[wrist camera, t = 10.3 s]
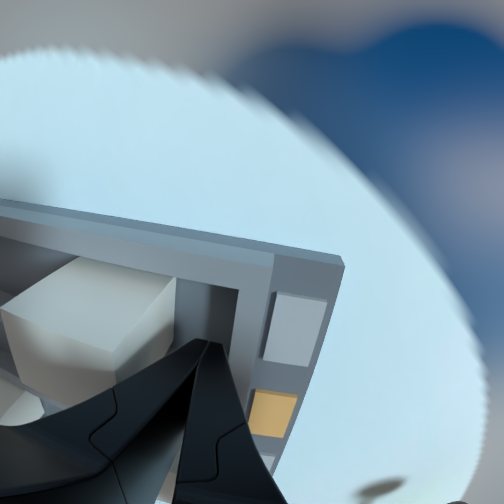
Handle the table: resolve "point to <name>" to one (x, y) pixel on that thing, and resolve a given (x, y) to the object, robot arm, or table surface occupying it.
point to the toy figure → (457, 502)
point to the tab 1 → (17, 405)
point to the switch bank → (195, 299)
